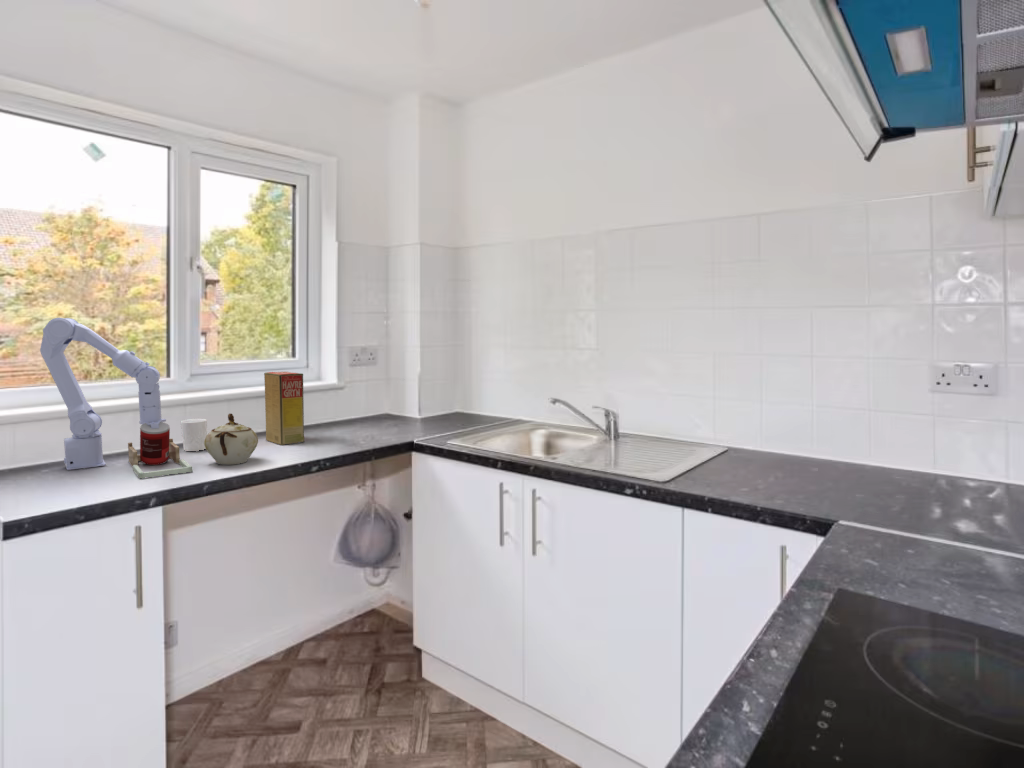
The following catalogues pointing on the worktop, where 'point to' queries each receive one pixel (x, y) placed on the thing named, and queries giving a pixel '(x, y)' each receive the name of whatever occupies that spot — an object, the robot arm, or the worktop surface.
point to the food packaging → (284, 407)
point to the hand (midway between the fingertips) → (152, 449)
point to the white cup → (194, 434)
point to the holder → (173, 453)
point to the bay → (164, 472)
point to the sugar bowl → (231, 443)
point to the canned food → (154, 444)
